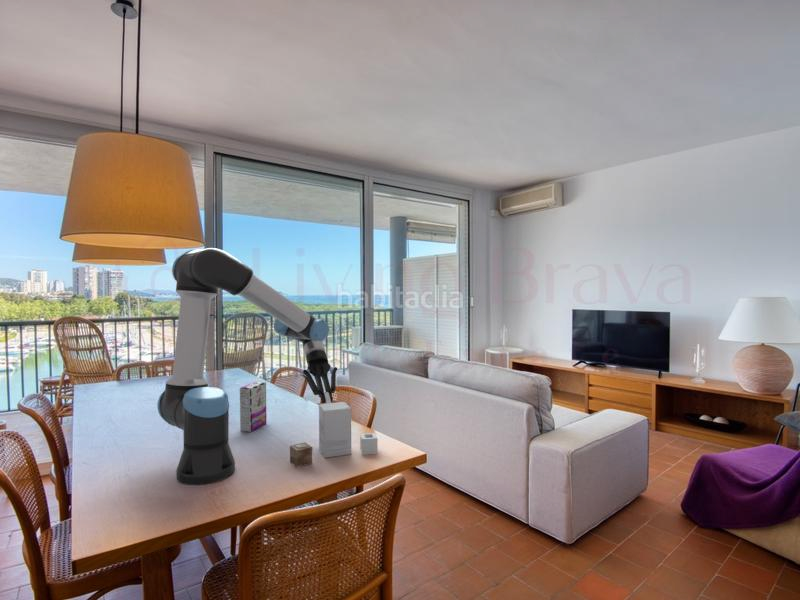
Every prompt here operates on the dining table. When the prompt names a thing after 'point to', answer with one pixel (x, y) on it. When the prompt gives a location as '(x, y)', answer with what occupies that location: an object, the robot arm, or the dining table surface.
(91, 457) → the dining table surface
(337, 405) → the supplement box
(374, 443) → the pale grey block
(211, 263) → the robot arm
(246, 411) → the candy bar box
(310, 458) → the walnut block
